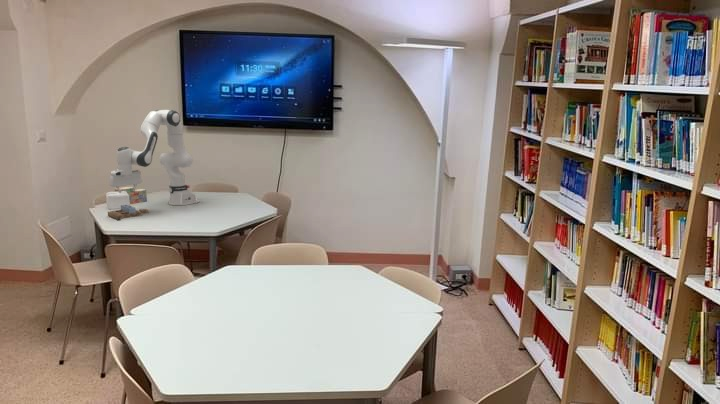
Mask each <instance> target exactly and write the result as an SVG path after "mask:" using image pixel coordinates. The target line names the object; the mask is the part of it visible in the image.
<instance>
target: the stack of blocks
mask: <svg viewBox="0 0 720 404" xmlns="http://www.w3.org/2000/svg"><path fill="white" fill-rule="evenodd" d="M133 187H134V186H126V187H125V186H124V187H119V189H120V190H121V191H125V192H127V193H128V195H129V201H130V205H133V204H134V205H135V204H138V203H145V202H146V203H147V201H148V199H147V198H148V197H147V189H144V188H139V189H135V191H133V190H132V188H133ZM114 192H118V189H117V188H114Z"/></svg>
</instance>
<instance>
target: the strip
mask: <svg viewBox="0 0 720 404" xmlns="http://www.w3.org/2000/svg"><path fill="white" fill-rule="evenodd" d="M120 210H122V211H125V212H127V213H129V214H131V213H136V207H134V206H132V205H131V204H130V205H127V204H125V205H121V209H120Z"/></svg>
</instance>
